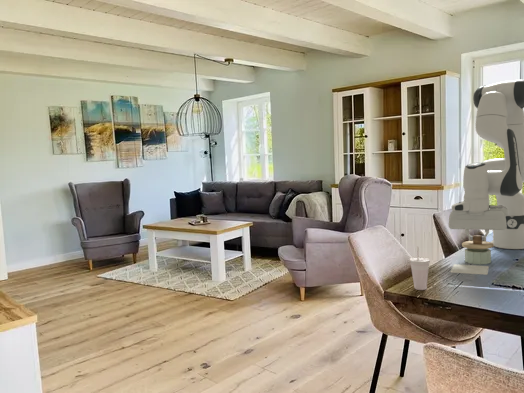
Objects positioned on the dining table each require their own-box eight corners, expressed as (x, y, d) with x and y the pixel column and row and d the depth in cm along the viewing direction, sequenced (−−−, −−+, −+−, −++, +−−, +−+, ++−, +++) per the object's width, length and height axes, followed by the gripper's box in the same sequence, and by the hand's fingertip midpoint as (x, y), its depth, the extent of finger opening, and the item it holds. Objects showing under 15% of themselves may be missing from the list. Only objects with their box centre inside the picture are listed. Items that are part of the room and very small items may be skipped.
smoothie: (406, 287, 148) (404, 246, 147) (420, 284, 151) (418, 243, 150) (421, 292, 142) (419, 249, 141) (435, 288, 145) (433, 246, 144)
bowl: (466, 259, 180) (465, 247, 179) (491, 260, 175) (491, 248, 175) (464, 264, 172) (463, 252, 171) (490, 266, 167) (490, 253, 167)
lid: (463, 242, 180) (462, 233, 180) (493, 243, 175) (493, 233, 175) (460, 248, 171) (460, 238, 170) (493, 249, 165) (493, 239, 165)
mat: (453, 265, 171) (453, 264, 171) (488, 267, 165) (488, 266, 165) (450, 273, 161) (450, 272, 161) (487, 276, 155) (487, 274, 155)
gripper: (507, 204, 169) (508, 240, 170) (449, 204, 179) (450, 238, 180) (507, 206, 164) (508, 243, 165) (447, 206, 174) (448, 241, 175)
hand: (477, 240), depth 173 cm, fingers closed on lid, 3 cm apart
